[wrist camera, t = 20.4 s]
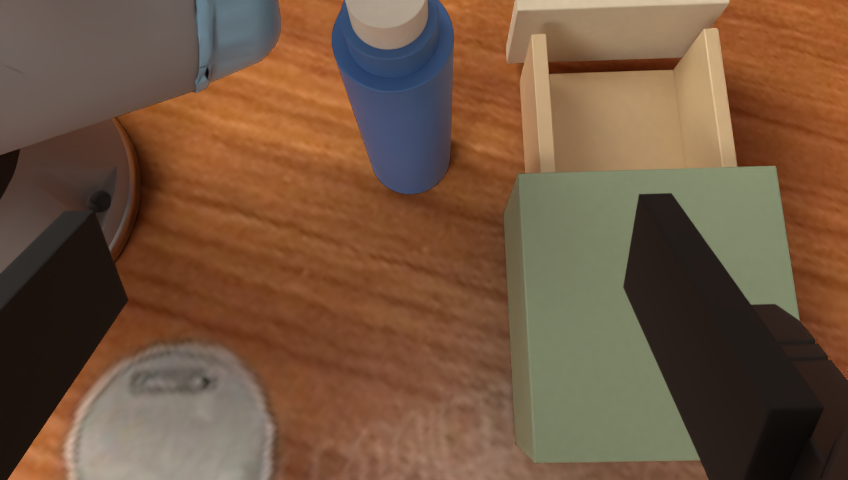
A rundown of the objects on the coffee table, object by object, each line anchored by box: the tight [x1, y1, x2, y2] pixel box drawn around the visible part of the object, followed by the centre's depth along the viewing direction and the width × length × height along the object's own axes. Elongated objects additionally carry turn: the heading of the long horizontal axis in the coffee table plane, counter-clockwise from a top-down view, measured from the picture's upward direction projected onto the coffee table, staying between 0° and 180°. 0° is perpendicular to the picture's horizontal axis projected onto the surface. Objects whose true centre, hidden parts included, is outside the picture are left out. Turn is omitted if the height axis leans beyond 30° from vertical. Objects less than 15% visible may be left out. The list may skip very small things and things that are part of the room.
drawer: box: [506, 0, 737, 173], centre depth 35 cm, size 14×11×6 cm
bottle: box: [332, 0, 454, 194], centre depth 30 cm, size 5×5×17 cm
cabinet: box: [503, 166, 800, 463], centre depth 32 cm, size 14×13×8 cm
